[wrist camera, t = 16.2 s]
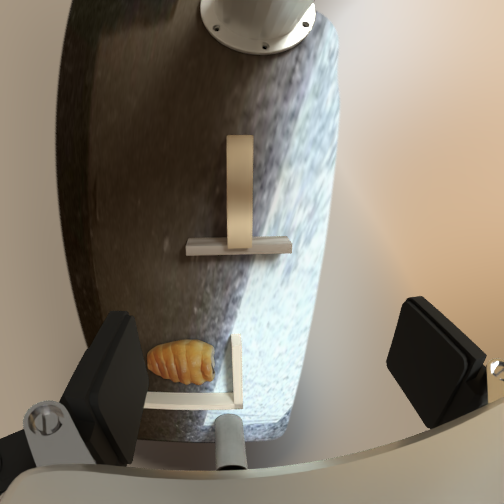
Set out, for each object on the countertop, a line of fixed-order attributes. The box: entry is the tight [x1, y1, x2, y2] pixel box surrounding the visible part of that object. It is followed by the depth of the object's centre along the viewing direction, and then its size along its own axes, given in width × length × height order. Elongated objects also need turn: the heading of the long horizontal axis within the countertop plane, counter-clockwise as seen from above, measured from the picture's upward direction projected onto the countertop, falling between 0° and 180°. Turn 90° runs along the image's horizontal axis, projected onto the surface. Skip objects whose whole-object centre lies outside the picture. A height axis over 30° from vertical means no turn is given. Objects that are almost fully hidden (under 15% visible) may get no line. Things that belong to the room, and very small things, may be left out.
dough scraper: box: [186, 135, 292, 256], centre depth 30 cm, size 12×11×4 cm
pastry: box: [147, 339, 215, 385], centre depth 37 cm, size 9×7×4 cm
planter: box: [215, 414, 248, 471], centre depth 39 cm, size 4×4×10 cm
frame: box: [144, 334, 243, 410], centre depth 38 cm, size 12×16×2 cm
